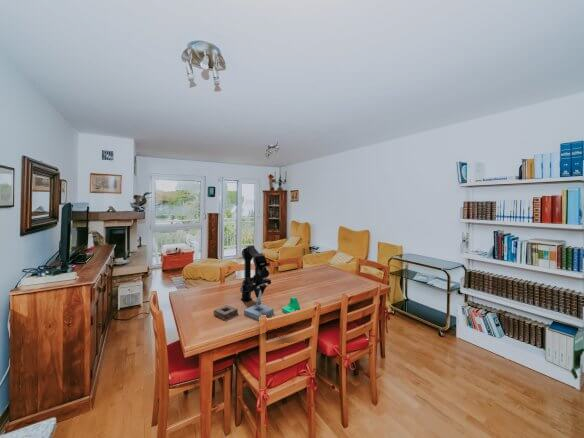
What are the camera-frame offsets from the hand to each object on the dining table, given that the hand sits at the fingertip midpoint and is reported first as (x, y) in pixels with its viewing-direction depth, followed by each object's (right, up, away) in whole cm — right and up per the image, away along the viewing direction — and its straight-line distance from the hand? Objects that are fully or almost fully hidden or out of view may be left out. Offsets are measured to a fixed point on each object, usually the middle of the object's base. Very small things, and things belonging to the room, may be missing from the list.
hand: (258, 296), depth 168 cm
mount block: (-22, -11, -1) cm, 25 cm away
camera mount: (+22, -12, +4) cm, 25 cm away
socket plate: (0, -12, +1) cm, 12 cm away
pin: (0, -5, 0) cm, 5 cm away
